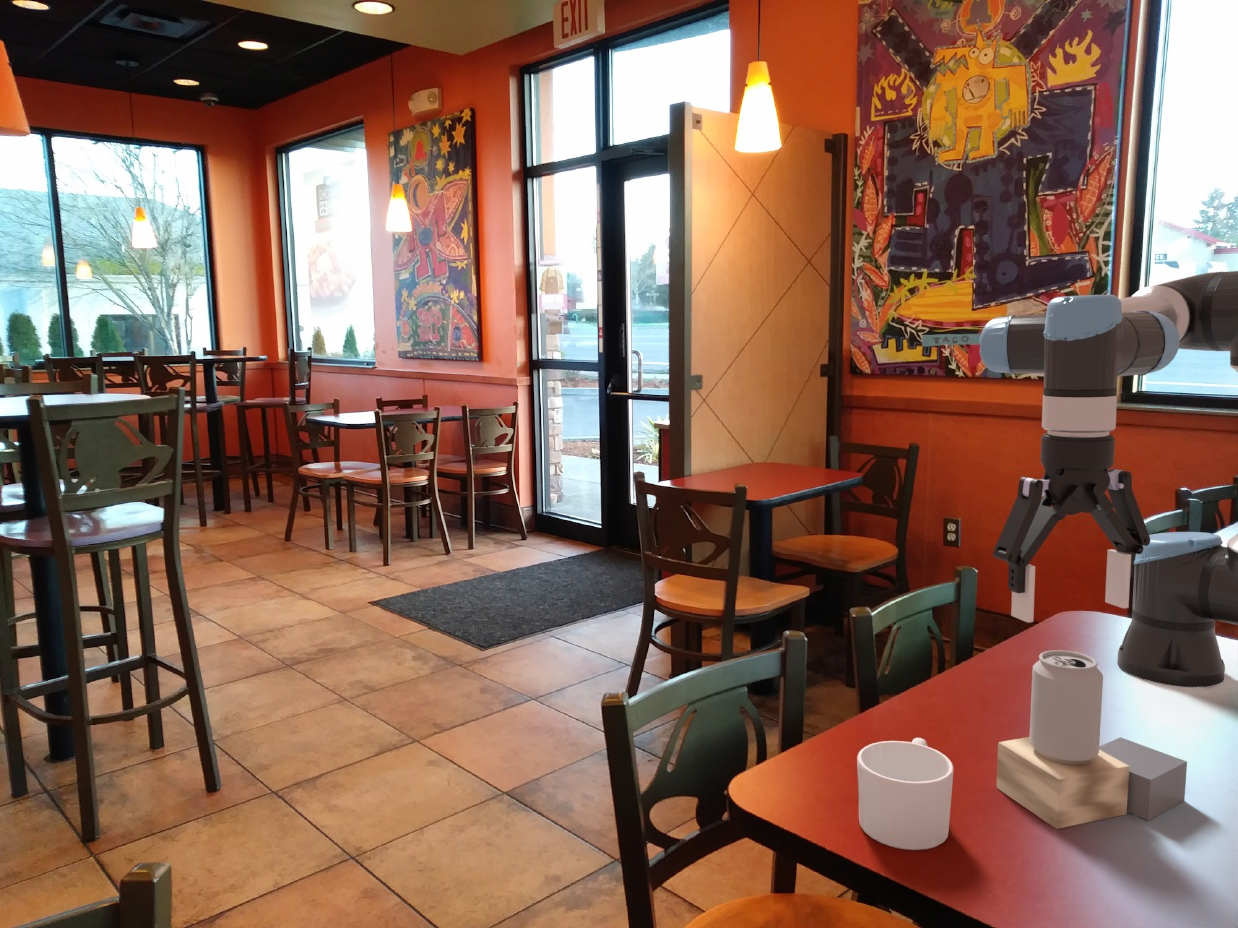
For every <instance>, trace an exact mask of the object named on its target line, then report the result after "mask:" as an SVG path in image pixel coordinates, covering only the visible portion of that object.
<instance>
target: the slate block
mask: <svg viewBox="0 0 1238 928" xmlns="http://www.w3.org/2000/svg"><path fill="white" fill-rule="evenodd" d="M1099 750H1101V751H1103V752H1105V753H1106V754H1108V755H1110V756H1112V757H1114V758H1116V759H1118V760H1119V761H1121V762H1123V763H1125V764H1127V765H1129V781H1128V798H1127V813H1130V814H1132V815H1134V816H1137V817H1139V818H1141V819H1144V820H1146V821H1151V820H1152V819H1153V818H1155V817H1157V816H1159V815H1161V814H1163V813H1165V812H1167V811H1168V810H1170V809H1172V808H1174V807H1175V806H1178V805H1180V804H1182V803H1183V802H1184V801H1185V799H1186V798H1185V797H1186V783H1187V768H1188V761H1187V760H1184V759H1180V758H1178V757H1175V756H1173V755H1170V754H1168V753H1165V752H1162V751H1159V750H1156V749H1154V748H1152V747H1148V746H1145V745H1142V744H1140V743H1138V742H1134V741H1131V740H1130V739H1126V738H1123V737H1122V736H1121V737H1118V738H1115V739H1113V740H1110V741H1109V742H1107V743H1104V744H1102V745H1099Z"/></svg>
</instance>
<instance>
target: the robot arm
mask: <svg viewBox="0 0 1238 928" xmlns="http://www.w3.org/2000/svg"><path fill="white" fill-rule="evenodd" d="M978 343H979V355H980V360H981V362H982V363H983V365H984V366H985V367H986V368H987V369H988V370H989V371H992V372H995V373H1001V374H1002V373H1003V374H1004V373H1005V374H1009V375H1014V374H1043V389H1042V411H1041V412H1042V413H1041V427H1042V428H1043V429H1044V430H1045V431H1047V432H1046V433H1043V435H1041V437H1040V457H1039V459H1040V464H1041V465H1042V466H1043V468H1044V472H1043V477H1042V478H1041V479H1039V478H1038V479H1037V478H1032V477H1028V476H1022V477H1020V479H1019V482H1018V486H1017V487H1018V488H1017V489H1018V490H1017V496H1016V499H1015V501H1014V503H1013V505H1012V508H1011V509H1010V512H1009V515H1008V517H1007V518H1006V521H1005V524H1004V526H1003V527H1002V528H1003V529H1002V531H1001V532H1000V534H999V538H998V539H997V542H996V544H995V546H994V549H993V551H992V556H993V557H994V558H995V559H998V560H1000V561H1004V562H1006V563H1007V565H1008V574H1007V575H1008V576H1007V587H1008V590H1009V592H1011V609H1010V610H1011V611H1010V616H1011V617H1014V618H1015V619H1018V620H1021V621H1023V622H1025V623H1033V622H1034V616H1035V615H1034V613H1035V610H1034V609H1035V588H1036V587H1035V585H1036V584H1035V583H1036V581H1035V580H1036V566H1035V565H1032V564H1030V563H1031V561H1032V560H1033V558H1034V557H1035V555H1036V554H1037V553H1038V551H1039V550H1040V548H1041V547H1042V545H1043V544H1044V542H1045V541H1046V539H1048V536H1049V535H1050V534H1051V533H1052V531H1053V530H1054V528H1055V527H1056V525H1057V524H1058V523H1059V522H1060V521H1063V520H1064V519H1065V518H1066V517H1067V515H1069V516H1071V515H1073V516H1074V515H1077V514H1079V513H1085V514H1090V515H1091V516H1092V519H1094V521H1095V522H1096V523H1097V526H1099V527H1100V529H1101V530H1102V532H1103V533H1104V535H1105V536H1106V537H1107V539H1108V540H1109V541H1110V544H1111V545H1112V546H1113V547H1114V549H1112V548H1111V549H1107V550H1106V552H1107V555H1106V574H1105V575H1106V576H1105V595H1104V597H1105V599H1104V601H1105V602H1104V603H1107V604H1109V605H1112V606H1115V607H1118V608H1121V609H1129V608H1130V607H1129V605H1130V603H1129V602H1130V583H1131V578H1132V577H1133V592H1132V593H1133V594H1132V613H1131V622H1130V623H1129V625H1128V628H1127V631H1126V632H1125V635H1124V637H1123V639H1122V643H1121V645H1120V646H1119V647H1118V650H1117V661H1116V663H1117V665H1118V667H1119V668H1120V670H1122V671H1124V672H1125V673H1127V674H1129V675H1131V676H1133V677H1136V678H1139V679H1142V680H1144V681H1148V682H1151V683H1157V684H1162V685H1165V686H1166V685H1167V686H1173V687H1181V688H1182V687H1183V688H1207V687H1214V686H1219V684H1220V685H1221V684H1222V683H1223V682H1224V680H1225V673H1226V665H1225V662H1224V660H1223V659H1222V656H1221V650H1220V647H1219V643H1218V640H1217V639H1218V638H1217V635H1216V630H1215V628H1216V621H1218V622H1222V623H1227V624H1231V625H1236V626H1238V533H1236V534H1235V535H1233V536H1232V537H1231V538H1229V539H1228V541H1227V543H1226V546H1223V543H1224V542H1223V540H1222V538H1221V536H1220V535H1218V534H1216V533H1215V534H1214V533H1212V532H1211V533H1210V532H1202V531H1201V532H1200V531H1172V532H1171V531H1170V532H1159V533H1153V534H1152V533H1151V534H1149V532H1148V530H1147V525H1146V523H1145V520H1144V518H1143V515H1142V513H1141V510H1140V507H1139V504H1138V501H1137V500H1136V499H1137V498H1136V496H1135V494H1134V492H1133V483H1132V482H1133V481H1132V479H1133V478H1132V476H1133V475H1132V473H1131V472H1130V471H1127V470H1123V469H1115V468H1112V467H1113V466H1114V463H1115V447H1116V446H1115V443H1116V437H1114V435H1112V434H1110V432H1112V431H1114V430H1116V425H1117V403H1118V399H1117V398H1118V379H1119V378H1118V377H1127V376H1139V377H1142V376H1143V377H1144V376H1146V375H1147V374H1152V373H1155V372H1157V371H1158V372H1159V371H1161V370H1163V369H1164V368H1165V367H1167V366H1169V364H1171V362H1172V361H1173V360H1174V359H1175V357H1176V355H1177V354H1178V351H1179V350H1188V351H1189V350H1192V351H1204V352H1205V351H1207V352H1212V351H1213V352H1229V353H1230V355H1229V356H1230V357H1229V366H1230V367H1231V368H1232V369H1233V370H1234V371H1236V372H1237V373H1238V270H1231V271H1230V270H1229V271H1214V272H1206V273H1200V274H1196V275H1192V276H1188V277H1183V278H1179V279H1175V280H1171V281H1167V282H1165V283H1164V282H1163V283H1160V284H1159V283H1158V284H1156V285H1149V286H1146V287H1143V288H1141V289H1139V290H1138V291H1136V292H1135V293H1134V294H1132V295H1131V296H1128V297H1122V298H1119V297H1118V296H1117V295H1115V294H1089V295H1088V294H1087V295H1069V296H1066V295H1065V296H1057V297H1054V298H1052V299H1051V300H1050V301H1049V302H1048V304H1047V307H1046V312H1041V313H1035V314H1028V315H1015V314H1011V315H1009V316H1001V317H994V318H992V319H991V320H989V321H988V322H987V323H986V324H985V326H984V327H983V329H982V331H981V334H980V337H979V342H978ZM1106 491H1107V493H1108V496H1109V497H1108V496H1107V494H1106ZM1109 498H1110V499H1109Z"/></svg>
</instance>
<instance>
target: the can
mask: <svg viewBox="0 0 1238 928" xmlns="http://www.w3.org/2000/svg"><path fill="white" fill-rule="evenodd" d="M1038 658H1039V660H1038V661H1036V662H1035V663H1034V664H1033V665H1032V674H1031V675H1032V677H1031V679H1032V680H1031V693H1030V694H1031V696H1030V698H1031V699H1030V717H1029V720H1030V721H1029V737H1030V738H1029V740H1030V744H1031V746H1032V747H1033V748H1034V749H1035V750H1036V751H1037V752H1038V753H1039V754H1040V755H1041V756H1043V757H1044V758H1046V759H1049V760H1051V761H1054V762H1058V763H1063V764H1084V763H1087V762H1089V761H1090V760H1091V759H1093V758H1095V757H1097V755H1098V753H1099V746H1100V740H1101V739H1100V738H1101V737H1100V736H1101V722H1102V721H1101V720H1102V705H1103V701H1102V700H1103V688H1104V687H1103V684H1104V675H1103V672H1101V671H1100V669H1099V668H1098V661H1097V660H1096V659H1095V658H1093V657H1092V656H1089V655H1087V654H1084V653H1080V652H1077V651H1070V650H1062V649H1055V650H1054V649H1053V650H1052V649H1051V650H1045V651H1043V652H1040V654H1039V655H1038Z"/></svg>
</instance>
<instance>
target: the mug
mask: <svg viewBox="0 0 1238 928" xmlns="http://www.w3.org/2000/svg"><path fill="white" fill-rule="evenodd" d="M856 761H857V762H856V763H857V764H856V765H857V766H856V767H857V768H856V769H857V791H858V792H857V795H858V796H857V797H858V800H857V801H858V821H859V826H860V827H861V829H862V830H863V832H864V833H865V834H867V835H868V836H869V837H870V838H871V839H873V840H875V841H876V842H879V843H880V844H883V845H885V846H889V847H892V848H896V849H900V850H907V851H922V850H923V851H924V850H929V849H933V848H936V847H938V846H939V845H941V844H943V843H944V842H945V841H946V840H947V839H948V837H949V828H950V818H951V806H952V805H951V804H952V791H953V781H954V780H953V779H954V769H955V767H954V765H953V763H952V761H951V759H949V757H947V755H945V754H943V753H942V752H941V751H939V750H937V749H934V748H932V747H929V746H928V742H927V740H925V739H924V738H921V737H915V738H912V740H911V741H906V740H905V741H903V740H902V741H900V740H887V741H886V740H883V741H878V742H874V743H871V744H868V745H866V746H864V747H863V748H861V750H859V752H858V754H857V756H856Z"/></svg>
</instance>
